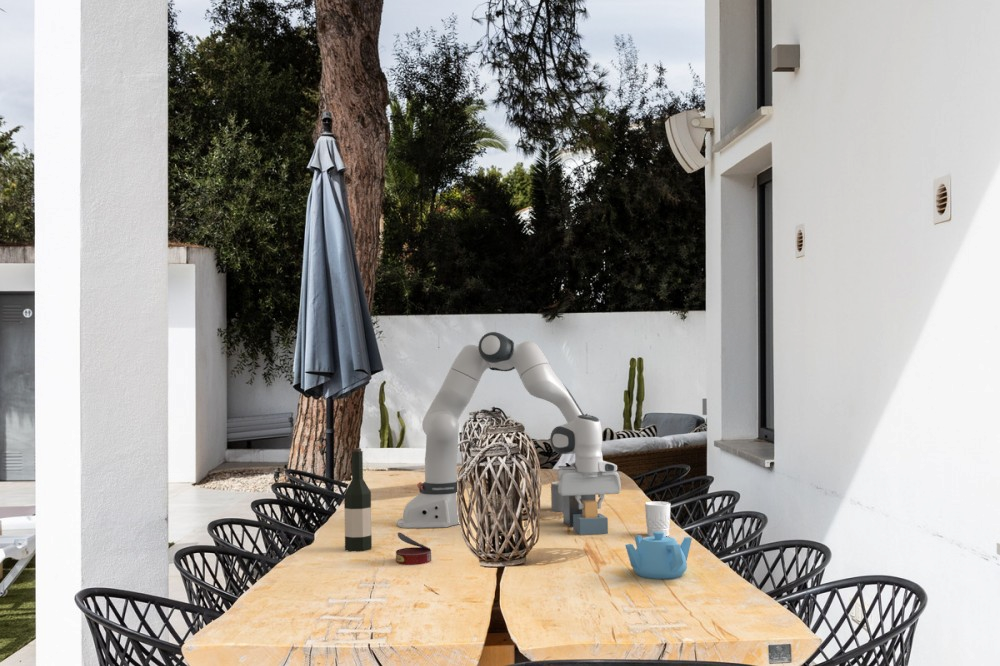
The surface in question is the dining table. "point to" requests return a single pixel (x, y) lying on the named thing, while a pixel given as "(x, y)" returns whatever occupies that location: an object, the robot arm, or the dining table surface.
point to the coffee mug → (556, 498)
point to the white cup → (657, 517)
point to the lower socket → (590, 525)
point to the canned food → (412, 553)
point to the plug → (590, 509)
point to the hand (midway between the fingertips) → (589, 508)
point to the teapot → (659, 556)
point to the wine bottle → (357, 508)
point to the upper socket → (573, 507)
